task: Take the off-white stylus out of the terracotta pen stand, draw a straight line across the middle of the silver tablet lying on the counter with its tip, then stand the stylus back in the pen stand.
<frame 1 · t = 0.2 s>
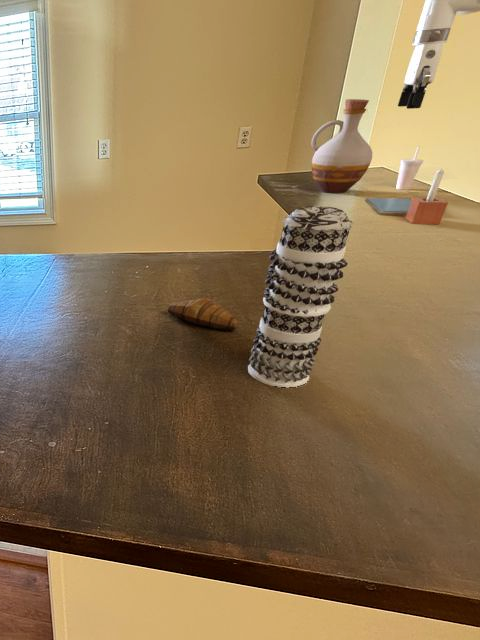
hand: (408, 107, 142), 28 cm above the countertop, tool pointing down, fingers open, 9 cm apart
tablet: (398, 207, 151), on the countertop
decorative candle: (277, 374, 74), on the countertop
pen stand: (422, 221, 137), on the countertop
stylus: (431, 196, 134), in the pen stand
smoothie: (402, 189, 173), on the countertop
jug: (329, 191, 177), on the countertop
croissant: (200, 323, 91), on the countertop
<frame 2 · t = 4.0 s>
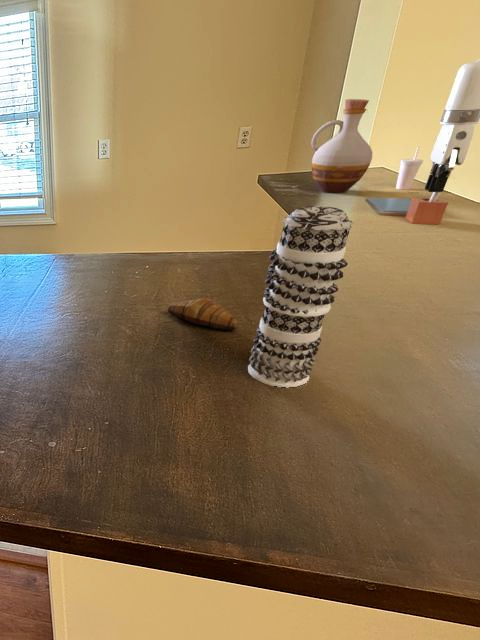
hand: (433, 190, 133), 9 cm above the countertop, tool pointing down, fingers closed
stylus: (435, 196, 134), in the pen stand, tilted 8°, touching gripper
everything else where it was.
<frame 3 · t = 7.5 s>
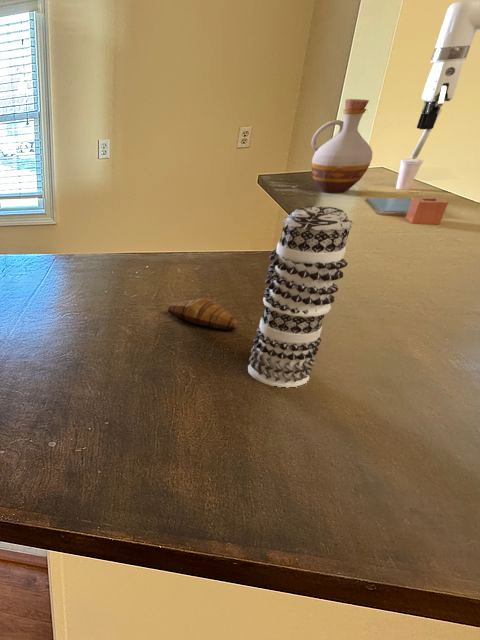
hand: (424, 128, 141), 23 cm above the countertop, tool pointing down, fingers closed on stylus, 1 cm apart
stylus: (425, 134, 142), point 21 cm above the countertop, tilted 9°, touching gripper
everything else where it was.
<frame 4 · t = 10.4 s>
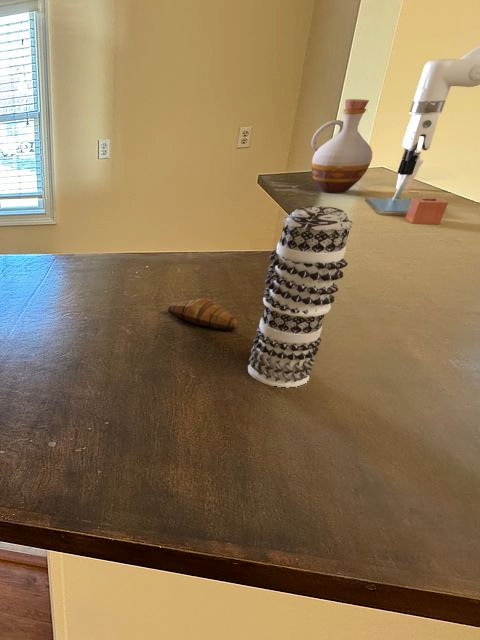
hand: (404, 173, 150), 10 cm above the countertop, tool pointing down, fingers closed on stylus, 1 cm apart
stylus: (405, 178, 151), point 8 cm above the countertop, tilted 9°, touching gripper
everything else where it was.
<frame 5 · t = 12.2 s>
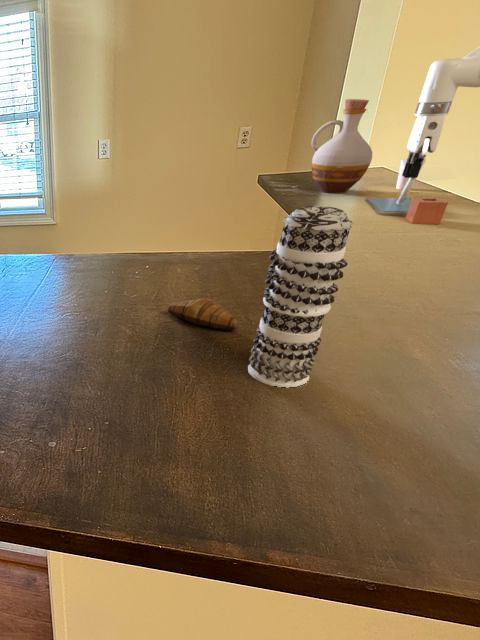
hand: (409, 176, 146), 10 cm above the countertop, tool pointing down, fingers closed on stylus, 1 cm apart
stylus: (410, 181, 146), point 8 cm above the countertop, tilted 9°, touching gripper
everything else where it was.
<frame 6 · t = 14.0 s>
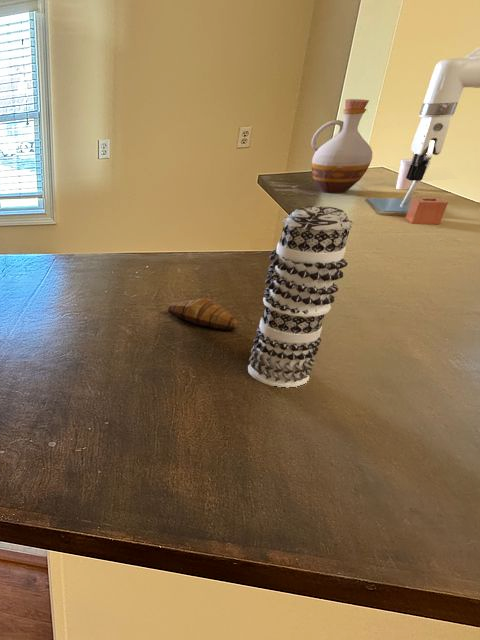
hand: (413, 179, 142), 10 cm above the countertop, tool pointing down, fingers closed on stylus, 1 cm apart
stylus: (415, 184, 143), on the tablet, point 8 cm above the countertop, tilted 9°, touching gripper
everything else where it was.
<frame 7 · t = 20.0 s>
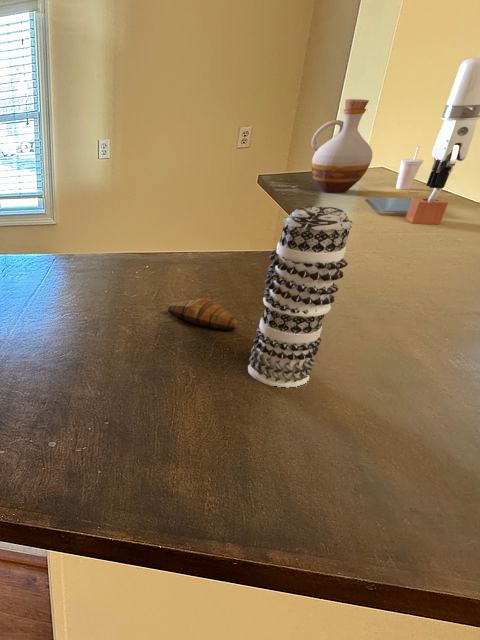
hand: (434, 186, 133), 10 cm above the countertop, tool pointing down, fingers closed on stylus, 1 cm apart
stylus: (435, 192, 133), in the pen stand, point 8 cm above the countertop, tilted 9°, touching gripper
everything else where it was.
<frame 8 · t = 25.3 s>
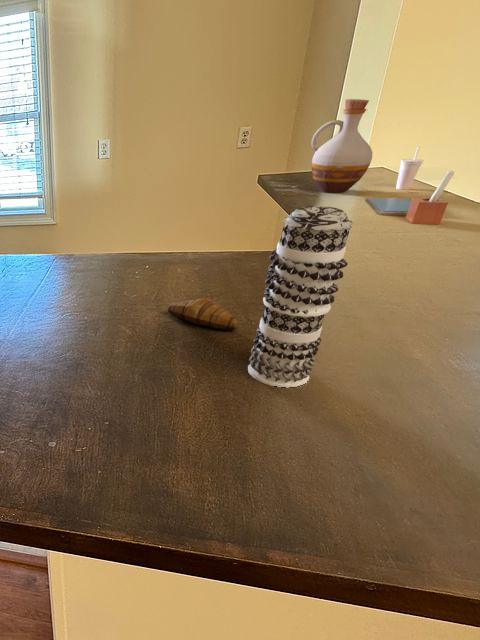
stylus: (435, 196, 134), in the pen stand, tilted 12°
everything else where it was.
at the end: stylus 0.5 cm off-centre in the pen stand, point 6.9 cm above the pen stand's base; stylus tilted 12°; the gripper is holding nothing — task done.
